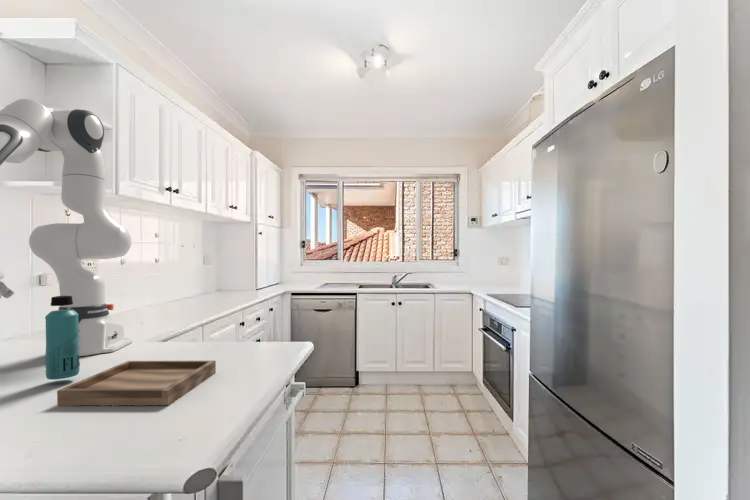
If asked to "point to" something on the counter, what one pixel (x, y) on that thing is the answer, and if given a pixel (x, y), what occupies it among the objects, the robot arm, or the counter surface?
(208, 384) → the counter surface
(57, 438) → the counter surface
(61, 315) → the beverage bottle
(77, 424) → the counter surface
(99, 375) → the walnut tray
